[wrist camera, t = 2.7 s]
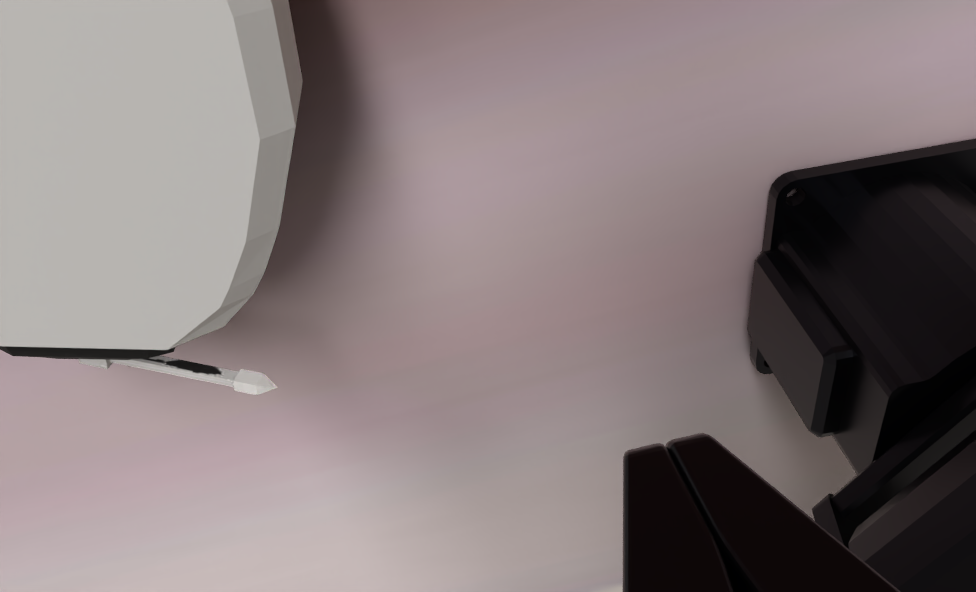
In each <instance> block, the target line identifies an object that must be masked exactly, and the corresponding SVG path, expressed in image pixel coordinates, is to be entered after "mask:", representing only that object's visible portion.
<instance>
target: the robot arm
mask: <svg viewBox="0 0 976 592" xmlns="http://www.w3.org/2000/svg"><path fill="white" fill-rule="evenodd" d="M796 188H798V190H797V192H796V193H795V194H794V195H792V196H790V197H787V194H788V193H789V192H790V191H791V190H793V189H796ZM747 330H748V333H749V334H750V336H751V338H752V342H751V351H750V358H751V361H752V362H753V364H754V366H755V367H756V369H757V370H758V371H759V372H760V373H763V374H771V373H774V375H775V377H776V378H777V380H778V381H779V383H780V385H781V386H782V388H783V390H784V391H785V393H786V394H787V396H788V398H789V399H790V401H791V403H792V404H793V406H794V407H795V409H796V411H797V412H798V414H799V416H800V417H801V419H802V420H803V422H804V424H805V425H806V427H807V429H808V430H809V431H810V432H812V433H813V434H814V435H816V436H817V437H825V436H830V435H832V436H833V437H834V439H835V441H836V442H837V444H838V445H839V447H840V448H841V450H842V452H843V453H844V455H845V456H846V458H847V459H848V461H849V462H850V464H851V466H852V467H853V469H854V470H855V472H856V473H857V476H856V477H854V478H853V479H852V480H851V481H850V482H849V483H847V484H846V485H845V486H844V487H843V488H842V489H840V490H839V491H838V492H837V493H836V494H835V495H833V494H828V495H827V496H826V497H825V498H824V499H823V500H821V501H820V502H819V503H818V504H817V505H816V506H814V507H813V508H812V511H813V515H814V518H815V521H814V520H813V519H811V518H810V517H809V516H808V515H807V514H805V513H804V512H803V511H802V510H801V509H799V508H798V507H797V506H796V505H794V504H793V503H792V502H791V501H790V500H788V499H787V498H786V497H785V496H783V495H782V494H781V493H780V492H779V491H777V490H776V489H775V488H774V487H773V486H771V485H770V484H769V483H768V482H766V481H765V480H764V479H763V478H762V477H760V476H759V475H758V474H757V473H755V472H754V471H753V470H752V469H751V468H749V467H748V466H747V465H746V464H744V463H743V462H742V461H741V460H740V459H738V458H737V457H736V456H735V455H734V454H732V453H731V452H730V451H729V450H727V449H726V448H725V447H724V446H723V445H721V444H720V443H719V442H718V441H716V440H715V439H714V438H713V437H711V436H709V435H707V434H703V433H701V434H695V435H691V436H686V437H682V438H678V439H674V440H671V441H669V442H668V443H667V444H666V447H665V446H664V445H662V444H653V445H648V446H644V447H640V448H636V449H631V450H628V451H627V452H626V453H625V454H624V459H623V592H976V139H972V140H966V141H961V142H955V143H949V144H944V145H938V146H932V147H927V148H921V149H915V150H909V151H904V152H898V153H892V154H887V155H881V156H875V157H869V158H864V159H858V160H852V161H847V162H841V163H835V164H830V165H824V166H818V167H812V168H807V169H801V170H795V171H790V172H787V173H785V174H783V175H781V176H780V177H778V178H777V179H776V180H775V182H774V183H773V184H772V186H771V189H770V192H769V201H768V209H767V217H766V226H765V234H764V242H763V251H762V252H761V253H760V254H759V256H758V257H757V259H756V261H755V266H754V274H753V283H752V292H751V300H750V309H749V318H748V327H747Z"/></svg>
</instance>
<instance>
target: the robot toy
mask: <svg viewBox="0 0 976 592" xmlns="http://www.w3.org/2000/svg"><path fill="white" fill-rule="evenodd" d="M302 84H303V80H302V74H301V68H300V63H299V57H298V52H297V46H296V40H295V35H294V29H293V24H292V18H291V12H290V7H289V1H288V0H0V349H1V350H3V351H4V352H6V353H8V354H10V355H12V356H28V357H46V358H56V359H79V363H80V364H84V365H89V366H94V367H99V368H104V369H108V368H109V367H110V365H111V364H112V363H117V364H122V365H127V366H132V367H137V368H141V369H146V370H151V371H156V372H161V373H166V374H171V375H176V376H181V377H186V378H191V379H196V380H201V381H206V382H211V383H216V384H221V385H226V386H231V387H234V391H239V392H244V393H249V394H254V395H259V394H262V393H264V392H267V391H270V390H273V389H276V388H278V387H277V386H276V385H275V384H274V383H273V382H272V381H271V380H270V379H269V378H268V377H267V376H266V375H265V374H264V373H260V372H255V371H250V370H245V369H240V371H239V372H238V371H233V370H228V369H223V368H218V367H213V366H208V365H203V364H198V363H193V362H188V361H183V360H179V359H174V358H169V357H164V356H159V355H163V354H167V353H171V352H174V349H175V347H176V346H178V345H181V344H183V343H186V342H188V341H190V340H193V339H195V338H198V337H200V336H203V335H205V334H208V333H210V332H212V331H215V330H217V329H220V328H222V327H224V326H225V325H226V324H227V323H228V322H229V321H230V320H231V318H232V317H233V316H234V315H235V314H236V313H237V312H238V311H239V310H240V308H241V307H242V306H243V305H244V304H245V303H246V302H247V301H248V300H249V298H250V297H251V296H252V295H253V294H254V292H255V290H256V288H257V286H258V284H259V282H260V281H261V279H262V277H263V275H264V273H265V270H266V267H267V264H268V261H269V258H270V255H271V252H272V249H273V245H274V242H275V239H276V236H277V233H278V230H279V227H280V220H281V214H282V208H283V202H284V196H285V190H286V183H287V177H288V171H289V165H290V159H291V153H292V146H293V140H294V134H295V128H296V122H297V115H298V109H299V103H300V96H301V90H302Z"/></svg>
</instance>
